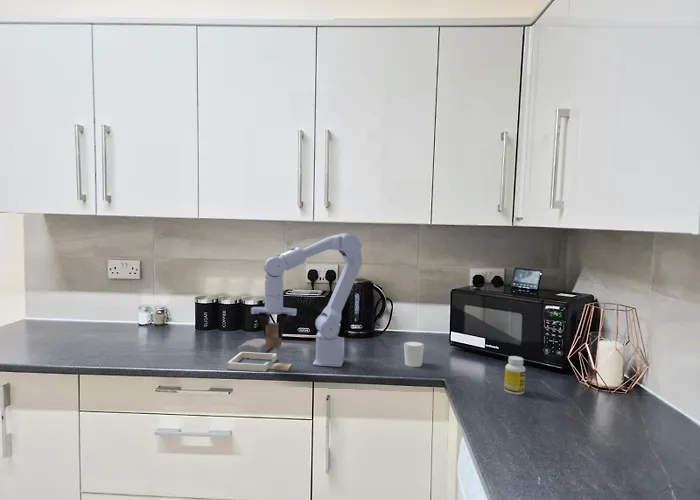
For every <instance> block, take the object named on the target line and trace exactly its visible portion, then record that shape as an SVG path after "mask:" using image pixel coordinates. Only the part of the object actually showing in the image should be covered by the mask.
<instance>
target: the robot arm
mask: <svg viewBox="0 0 700 500" xmlns="http://www.w3.org/2000/svg"><path fill="white" fill-rule="evenodd" d="M329 250H332V251H338V252H339V253H340V255H341V256H342V258H343V260H344V263H345V264H344V266H343V269H342V271H341V273H340V275H339V278H338V280H337V282H336V284H335V287H334V289H333V291H332V294H331V297H330V298H329V301H328V303H327V305H326V306H325V307H324V309H323V310H322V311H321V314H320V315H318V316H317V318H316V319H315V321H314V322H315V323H314V325H315V328H316V331H317V333H316V337H315V359H314V361H313V363H312V365H313V366H323V367H336V368H337V367H339V368H341V367H342V365H343V363H344V361H345V338H344V337H343V336H342V337H341V336H339V334H340V329H341V326H340V324H341V321H342V311H343V309H344V307H345V304H346V302H347V300H348V298H349V295H350V293H351V291H352V288H353V286H354V284H355V282H356V279H357V276H358V274H359V272H360V269H361V267H362V265H363V258H362V257H363V256H362V243H361V241H360V239H359V238H358V235H355V234H354V233H345V232H340V233H338V234H334V235H330V236H328V237H326V238H324V239H321V240H319V241H317V242H315V243H313V244H310V245H308V246H307V247H304V248H301V247H299V246H296V247H295V246H291V247H290V248H289V250H287V251H285V252H283V253H276V256H275V257H274V256H271V257H269V258H267V259H266V261H265V262H264V265H263V270H264V271H265V276H264V277H265V278H264V279H265V280H264V306H253V307H251V308H250V314H251V315H255V314H257V320H258V321H259V322H260V325H261V327H262V330H263V335H264V338H266V325H267V324H269V323H270V315H278V316H277V319H278V322H277V323H279V338H281V339H282V337H283V336H284V335H283V334H284V330H285V327H286V324H287V322H288V319H289V318H290V316H293V317H295V316H296V315H297V313H298V312H297V308H291V307H284V280H283V279H284V278H283V274H284V272H285V271H290V270H292V269H295V268H297V267H299V266H301V265H305V262H306V260H307V259H308V258H310V257H312V256H316V255H318V254H320V253H323V252H325V251H329Z"/></svg>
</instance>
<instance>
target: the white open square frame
mask: <svg viewBox="0 0 700 500" xmlns="http://www.w3.org/2000/svg"><path fill="white" fill-rule="evenodd" d="M277 357H278V353H271V352H265V353H255V352H240V353H237V354H236V355H234V357H232V358H231V359H230V360H228V361H227V362H226V370H233V371H234V370H235V371H236V370H237V371H249V372H264V373H265V372H267V371H268V370H269V369H270V367H269V366H270V362H269V361H271V363H276V361H277V359H278V358H277ZM247 358H249V360H250V359H251V360H263V361H264V360H268V361H266V362H264V363H263V364H262V363H250V362H249V363H248V362H240V361H241V360H242V359H247Z"/></svg>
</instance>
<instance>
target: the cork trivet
mask: <svg viewBox="0 0 700 500" xmlns="http://www.w3.org/2000/svg"><path fill="white" fill-rule="evenodd" d="M292 366H293V364H292V363H282V362H281V363H279V362H274V364H272V365H271V367H269V369H270V370H269V371H287V372H288V371H289V370H290V368H291V367H292Z"/></svg>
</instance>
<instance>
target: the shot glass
mask: <svg viewBox="0 0 700 500" xmlns="http://www.w3.org/2000/svg"><path fill="white" fill-rule="evenodd" d="M403 350H404V351H403V352H404V365H405V366H407V367H412V368H414V367H415V368H418V367H419V368H420V367H421V366H422V365H423V359H424V358H423V357H424V350H425V343H422V342H420V341H405V342H403Z"/></svg>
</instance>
